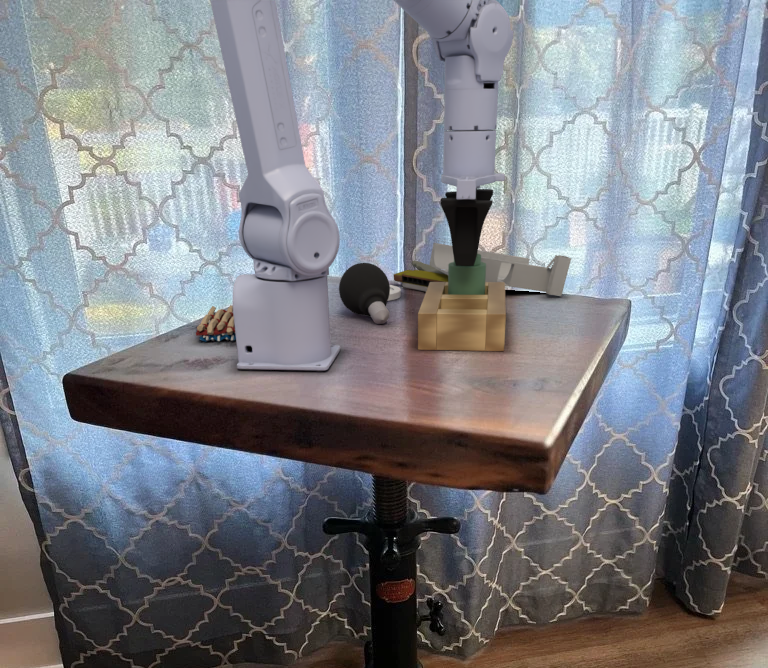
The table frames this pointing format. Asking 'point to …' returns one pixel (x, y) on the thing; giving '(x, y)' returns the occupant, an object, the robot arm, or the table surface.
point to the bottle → (467, 278)
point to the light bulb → (366, 291)
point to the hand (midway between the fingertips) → (466, 259)
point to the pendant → (394, 292)
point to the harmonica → (419, 279)
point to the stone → (425, 267)
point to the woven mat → (217, 325)
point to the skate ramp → (511, 269)
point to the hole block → (462, 319)
